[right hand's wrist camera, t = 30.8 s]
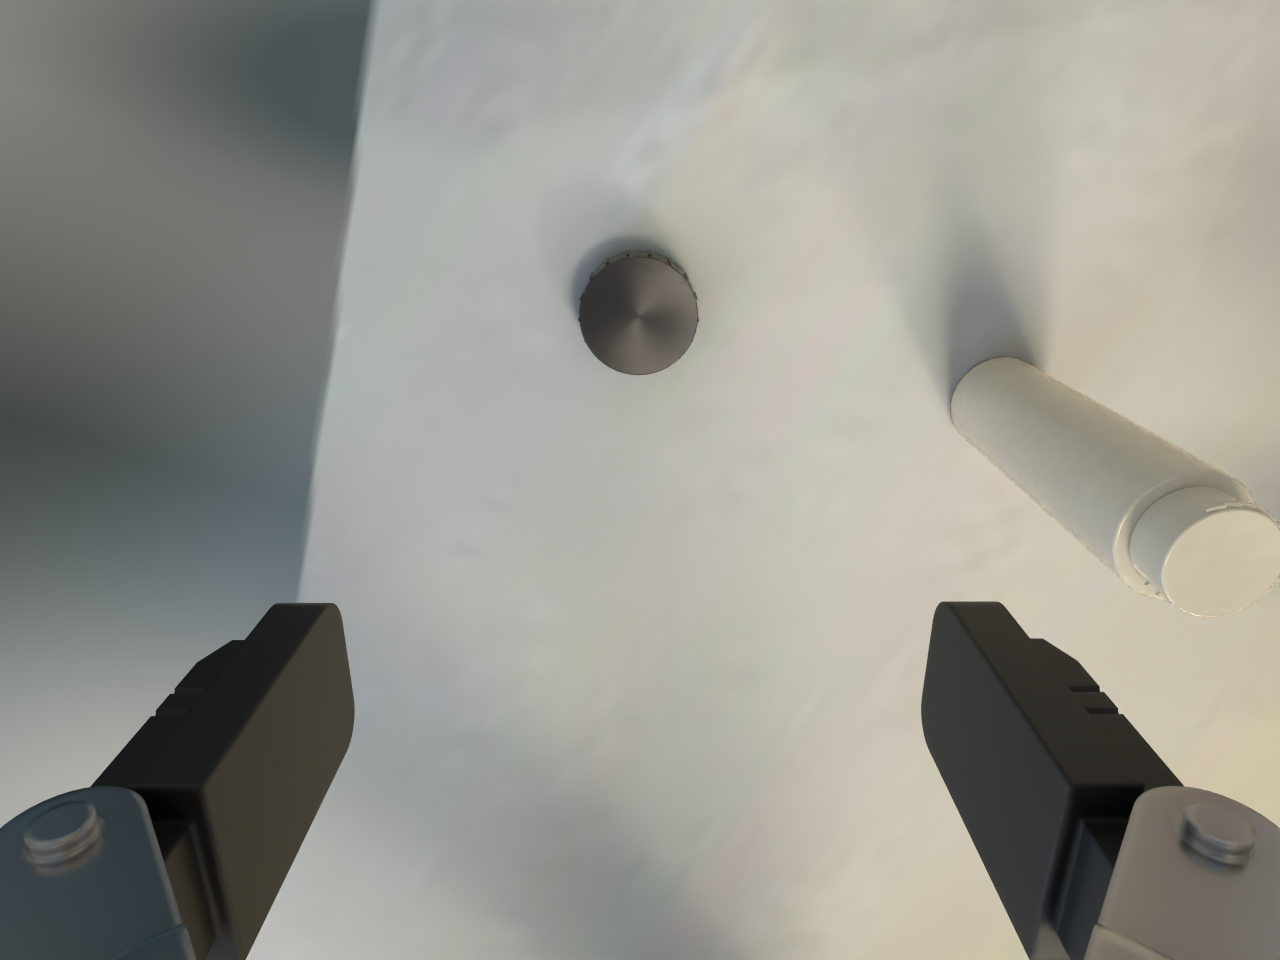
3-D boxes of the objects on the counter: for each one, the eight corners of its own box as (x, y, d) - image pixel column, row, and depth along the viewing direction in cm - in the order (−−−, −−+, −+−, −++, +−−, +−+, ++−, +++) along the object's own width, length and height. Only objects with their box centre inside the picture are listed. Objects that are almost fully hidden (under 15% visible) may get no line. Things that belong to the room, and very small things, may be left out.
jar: (1051, 431, 39) (1306, 608, 24) (958, 458, 39) (1153, 647, 24) (1037, 344, 37) (1300, 475, 22) (942, 373, 38) (1138, 519, 23)
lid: (557, 319, 37) (553, 328, 35) (627, 223, 35) (626, 228, 34) (649, 387, 38) (649, 399, 36) (720, 296, 37) (724, 304, 35)
